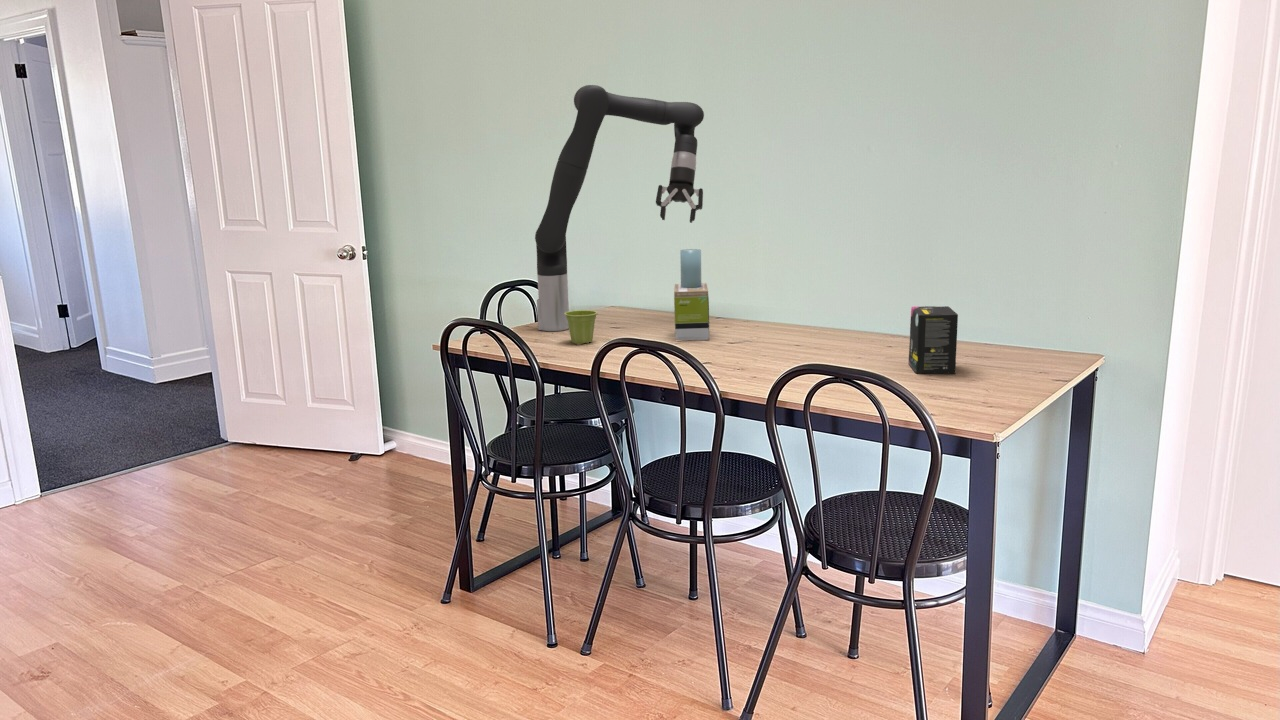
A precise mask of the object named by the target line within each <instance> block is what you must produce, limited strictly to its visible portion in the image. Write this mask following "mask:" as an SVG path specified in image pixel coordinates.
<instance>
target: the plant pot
mask: <svg viewBox="0 0 1280 720" xmlns="http://www.w3.org/2000/svg"><path fill="white" fill-rule="evenodd" d="M565 315H566V318H567V320H568V325H569V329H568V331H569V335H570V341H571V343H572V344H575V345H577V344H579V345H583V344H590V343H589V342H591V343H592V342H593V341H594V333H595V332H594V329H595V323H596V321H595V320H596V318H597V315H598V311H596V310H586V309H585V310H584V309H582V310H581V309H579V310H578V309H577V310H569V312H565Z"/></svg>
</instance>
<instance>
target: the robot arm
mask: <svg viewBox="0 0 1280 720" xmlns="http://www.w3.org/2000/svg"><path fill="white" fill-rule="evenodd" d="M573 105H574V108H575V109H576V111H577V113H576V118H575V123H574V125H573V128H572V130H571V132H570V135H569V136H568V138H567V140H566V142H565V144H564V146H563V147H562V149H561V151H560V154H559V157H558V159H557V161H556V165H555V168H554V173H553V175H552V180H551V185H550V191H549V196H548V202H547V206H546V208H545V211H544V214H543V216H542V218H541V221H540V223H539V225H538V227H537V229H536V231H535V236H534V241H535V243H536V244H535V245H536V270H537V271H536V272H537V273H536V274H537V291H538V293H537V295H538V299H537V300H536V312H537V328H538V329H537V330H538V331H544V332H560V331H567V330H569V325H568V320H567V318H566V315H565V312H569V311H570V303H569V285H568V282H569V281H568V258H567V252H568V251H567V230H568V225H569V221H570V220H569V219H570V216H571V213H572V210H573V208H574V206H575V203H576V201H577V199H578V198H579V197H578V196H579V194H580V192H581V190H582V187H583V184H584V181H585V178H586V175H587V172H588V169H589V164H590V161H591V157H592V154H593V151H594V146H595V144H596V143H595V142H596V139H597V135H598V133H599V130H600V128H601V125H602V123H603V121H604V119H605V116H614V117H621V118H624V119H630V120H634V121H638V122H643V123H649V124H654V125H661V126H667V125H670V124H673V132H674V133H673V134H674V140H675V141H674V146H673V147H674V149H673V156H672V158H671V167H670V173H669V181H668V182H669V183H668V186H663V185H662V184H659V185H658V187H657V192H656V199H655V205H656V206H657V207H660V214H659V216H660V218H661V219H662V221H665V220H666V213H667V207H668V206H669V205H670V204H671V203H672V202H674V203H684V204H685V203H688V205H689V207H690V215H689V223H691V224H692V223H693V222H695V220H696V215H697V214H696V212H697V211H699V210H700V211H701V210H702V209H703V205H704V203H703V202H704V201H703V200H704V189H703V188H702V187H700V188H699V189H697V188H696V189H695V188H694V185H695V177H696V176H695V175H696V170H697V167H696V165H697V153H698V151H697V150H698V139H697V137H696V136H695V130H696V127H698V126H699V125H700V124H701V123H702V122H703V121H704V119H705V113H704V110H703V108H702V107H701V106H700V105H698V104H696V103H694V102H688V101H672V102H671V101H664V100H660V99H653V98H646V97H635V96H625V95H620V94H616V93H611V92H608V91H607V90H606V89H605V88H603V87H602V86H600V85H596V84H585V85H583V86H582V87H579V89H577V91H576V92H575V93H574V95H573ZM665 192H667V193H668V195H667V197H666V198H665V199H664V200H663V201H662V195H664V194H665ZM693 195H696V197H698V199H697V200H698V202H697V204H695V203H694V201H693V199H692V198H691V197H692V196H693Z"/></svg>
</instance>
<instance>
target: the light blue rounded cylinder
mask: <svg viewBox="0 0 1280 720" xmlns="http://www.w3.org/2000/svg"><path fill="white" fill-rule="evenodd" d="M679 255H680V256H679V257H680V258H679V259H680V284H681V287H684V288H696V287H701V283H702V249H697V248H689V249H688V248H687V249H680V252H679Z"/></svg>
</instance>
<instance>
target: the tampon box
mask: <svg viewBox="0 0 1280 720" xmlns="http://www.w3.org/2000/svg"><path fill="white" fill-rule="evenodd" d="M910 308H911V309H910V310H911V311H910V322H909V323H910V327H909V345H908V346H909V347H908V349H909V350H908V365H909V366H910V368H911V369H912V370H913V372H914V373H915V374H916V375H919V374H921V375H924V373H925V375H926V374H927V375H932V374H934V375H935V374H937V375H940V374H941V375H942V374H944V375H956V368H957V367H956V366H957V361H956V360H957V345H958V344H957V343H958V319H959V318H958V317H959V315H958V313H957V312H956V311H955V310H954V309H952V308H951V307H950V306H935V305H934V306H929V305H928V306H926V305H925V306H911V307H910ZM917 373H918V374H917ZM922 373H923V374H922Z"/></svg>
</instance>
